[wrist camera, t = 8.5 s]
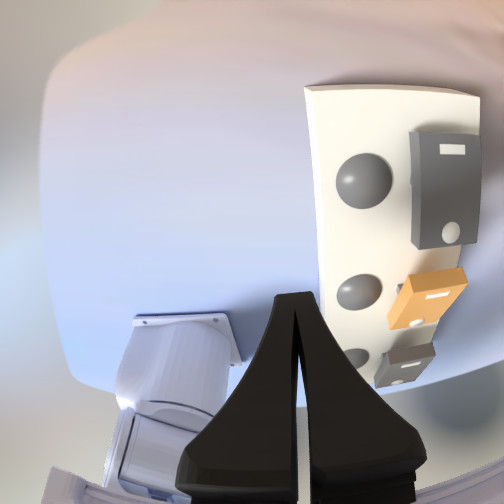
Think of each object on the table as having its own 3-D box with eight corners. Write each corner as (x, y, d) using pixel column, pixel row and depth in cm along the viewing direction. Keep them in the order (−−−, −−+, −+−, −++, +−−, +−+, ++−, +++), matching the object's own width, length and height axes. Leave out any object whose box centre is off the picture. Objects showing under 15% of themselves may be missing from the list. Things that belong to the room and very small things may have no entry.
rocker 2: (432, 308, 20) (436, 322, 20) (387, 315, 21) (389, 331, 20) (462, 266, 16) (468, 284, 15) (408, 274, 16) (413, 294, 15)
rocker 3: (412, 369, 25) (414, 381, 24) (373, 376, 25) (375, 389, 24) (432, 342, 20) (436, 356, 19) (387, 350, 21) (390, 365, 20)
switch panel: (398, 373, 32) (406, 400, 28) (319, 385, 33) (321, 414, 30) (449, 88, 14) (484, 98, 11) (303, 86, 16) (313, 92, 12)
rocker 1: (466, 235, 15) (477, 243, 14) (410, 241, 15) (419, 250, 14) (468, 133, 13) (481, 135, 11) (408, 131, 13) (419, 132, 12)
